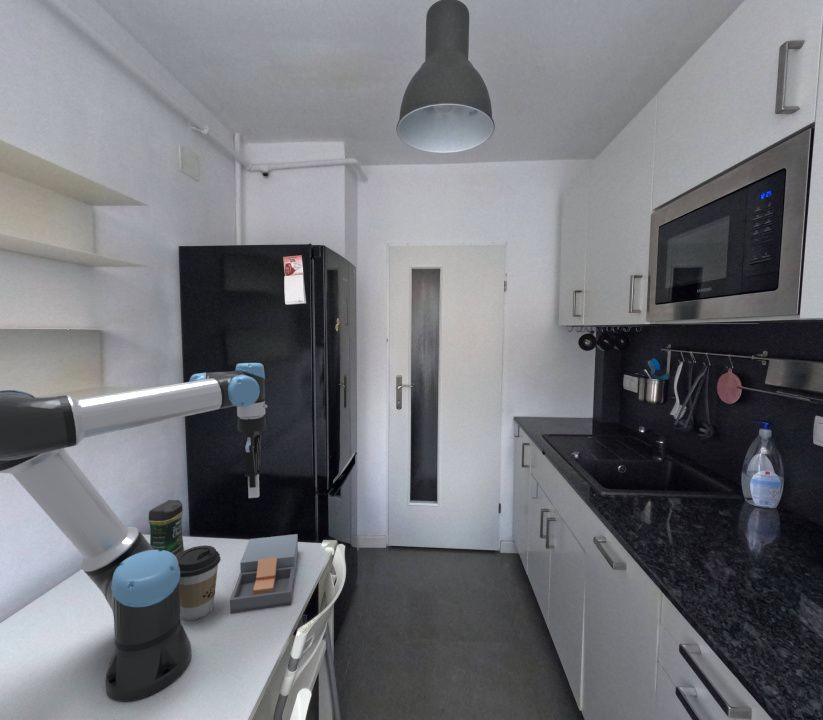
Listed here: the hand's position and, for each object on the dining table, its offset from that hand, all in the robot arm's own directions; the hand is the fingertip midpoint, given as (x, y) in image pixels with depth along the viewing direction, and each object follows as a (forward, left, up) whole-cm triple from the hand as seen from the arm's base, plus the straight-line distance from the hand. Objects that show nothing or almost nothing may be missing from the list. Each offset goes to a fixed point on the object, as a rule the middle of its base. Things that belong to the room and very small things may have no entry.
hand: (254, 496), depth 114 cm
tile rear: (-3, -4, -21) cm, 22 cm away
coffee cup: (-11, +13, -25) cm, 30 cm away
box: (-8, -3, -25) cm, 26 cm away
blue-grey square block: (+6, -3, -25) cm, 26 cm away
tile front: (-8, -4, -21) cm, 23 cm away
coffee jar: (+17, +30, -25) cm, 42 cm away
